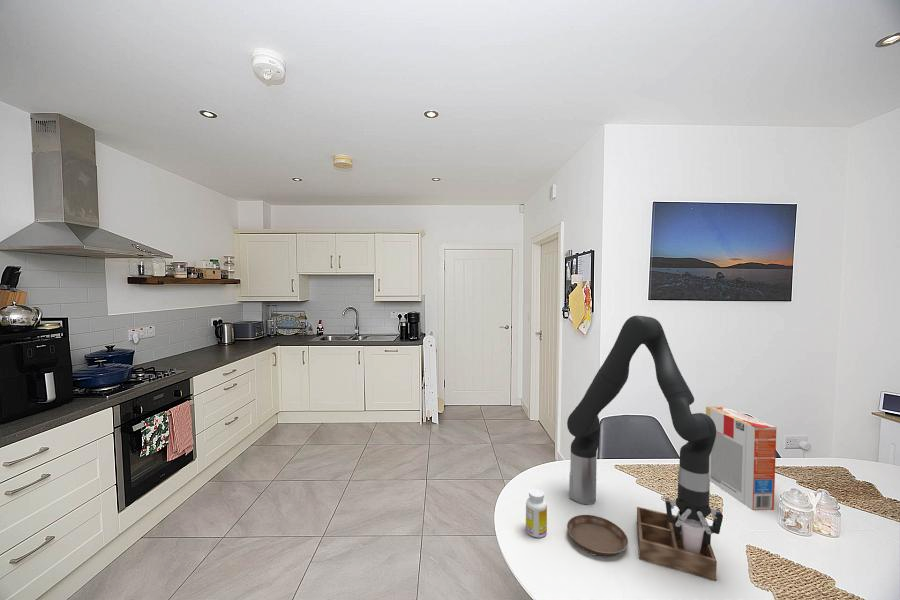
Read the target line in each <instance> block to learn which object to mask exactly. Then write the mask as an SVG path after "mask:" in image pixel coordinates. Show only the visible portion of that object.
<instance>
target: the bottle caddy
mask: <svg viewBox="0 0 900 600" xmlns="http://www.w3.org/2000/svg"><path fill="white" fill-rule="evenodd" d="M672 516H673V517H674V518H675V517H676V516H677V514H676V515H674V514H672ZM680 527H681V525H680ZM636 531H637V533H636V534H637V544H638V546H637V547H638V557H639V558H638V559H639V560H640V561H645V562H648V563H652V564H655V565H658V566H661V567H662V566H663V567H665V568H669V569H673V570H676V571H680V572H684V573H686V574H691V575H694V576H697V577H701V578H704V579H708V580H711V581H716V582H717V566H718V565H717V562H718V561H717V559H716V556H715V553H714V550H713V547H712V543H711V544H710V545H708V547H707V546H705V545H704V542H703V540H702V545H701V550H700V555H699V554H695V553H691V552H687V551H684V548H683V540H682V531H681V538H680V539H677V536H675V533H674V524H673V523H670V522H669V521H668V517H667V512H662V511H658V510H653V509H649V508H644V507H640V506H636Z"/></svg>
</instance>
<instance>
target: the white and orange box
mask: <svg viewBox="0 0 900 600" xmlns="http://www.w3.org/2000/svg"><path fill="white" fill-rule="evenodd" d="M705 414H706V415H708V416H709V417H711V419H712V420H713V421H714V423H715V426H716V438H715V442H714V445H713V448H712V451H711V454H710V456H709V477H710V483H712V484H713V485H715V486H717V487H718V488H719V489H721V490H722V491H723V492H725V493H727V494H728V495H729V496H731V497H733V498H734V499H735V500H737V501H738V502H739V503H741V504H742V505H744V506H746V507H747V508H748V509H750V510H751V511H771V510H772V511H774V510H775V491H776V490H775V487H776V485H775V484H776V458H777V457H776V456H777V455H776V453H777V450H776V449H777V426H774V425H772V424H769V423H767V422H765V421H762V420H760V419H757V418H755V417H752V416H750V415H746V414H744V413H741V412H739V411H736V410H734V409H731V408H729V407H727V406H723V405H722V406H705Z"/></svg>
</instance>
